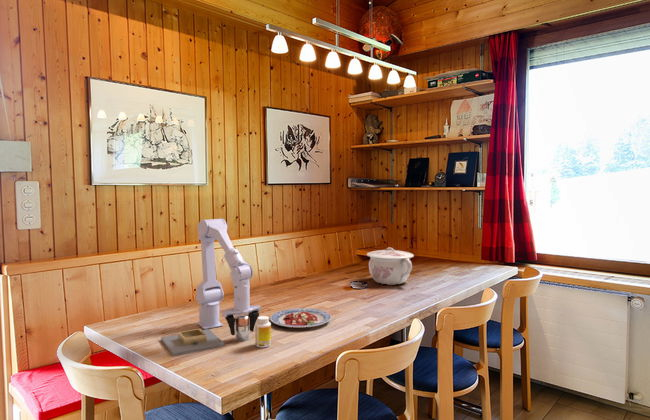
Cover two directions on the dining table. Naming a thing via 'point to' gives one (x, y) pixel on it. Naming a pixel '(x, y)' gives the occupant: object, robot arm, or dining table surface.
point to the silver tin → (242, 327)
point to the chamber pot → (390, 266)
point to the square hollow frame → (192, 337)
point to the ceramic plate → (300, 317)
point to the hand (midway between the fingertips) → (242, 332)
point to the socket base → (179, 348)
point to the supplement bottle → (263, 332)
